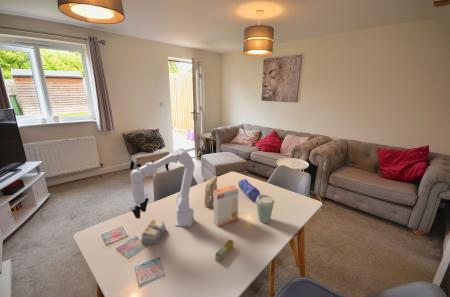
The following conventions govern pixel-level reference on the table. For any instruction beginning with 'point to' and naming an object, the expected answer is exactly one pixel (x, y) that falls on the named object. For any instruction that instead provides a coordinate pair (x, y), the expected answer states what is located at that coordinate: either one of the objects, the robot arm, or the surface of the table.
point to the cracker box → (225, 205)
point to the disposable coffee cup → (264, 207)
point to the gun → (210, 190)
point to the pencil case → (249, 189)
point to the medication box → (224, 250)
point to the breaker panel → (153, 238)
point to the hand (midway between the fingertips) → (140, 214)
